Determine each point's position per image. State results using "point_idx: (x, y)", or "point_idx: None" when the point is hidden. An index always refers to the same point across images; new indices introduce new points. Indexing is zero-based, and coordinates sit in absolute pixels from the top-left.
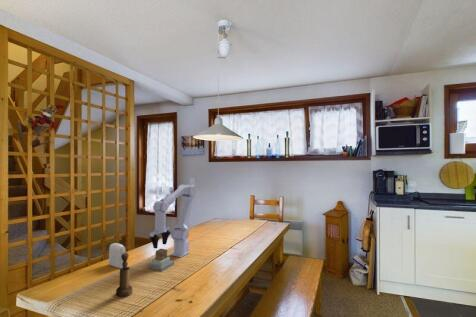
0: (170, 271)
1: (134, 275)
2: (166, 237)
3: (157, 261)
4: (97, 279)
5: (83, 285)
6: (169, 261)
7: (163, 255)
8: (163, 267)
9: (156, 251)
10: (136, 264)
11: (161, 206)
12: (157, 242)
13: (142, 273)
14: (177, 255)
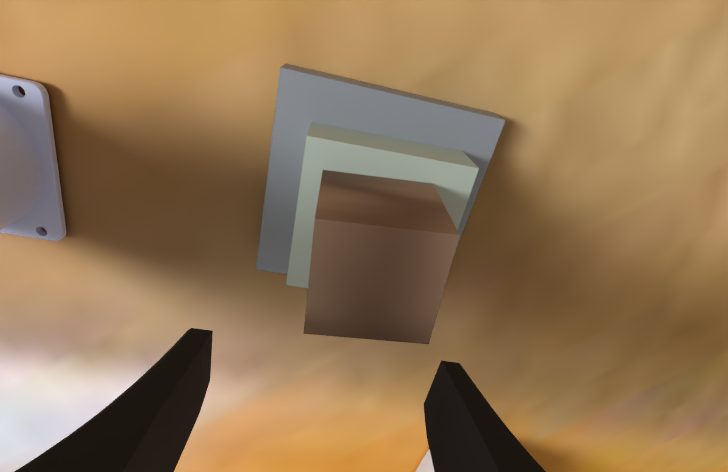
0: (490, 7)
1: (597, 296)
2: (141, 453)
3: (457, 226)
4: (650, 445)
5: (724, 456)
6: (316, 124)
7: (417, 203)
8: (484, 115)
9: (432, 329)
10: (389, 385)
11: None
12: (502, 452)
13: (557, 261)
14: (36, 147)
